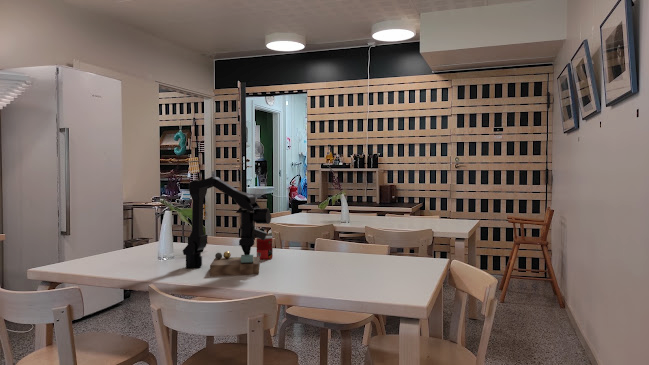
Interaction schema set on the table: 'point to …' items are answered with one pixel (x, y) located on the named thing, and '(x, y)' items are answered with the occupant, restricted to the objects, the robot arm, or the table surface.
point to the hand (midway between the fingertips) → (247, 258)
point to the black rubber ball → (218, 255)
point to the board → (234, 266)
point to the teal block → (246, 258)
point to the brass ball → (226, 254)
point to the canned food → (265, 248)
